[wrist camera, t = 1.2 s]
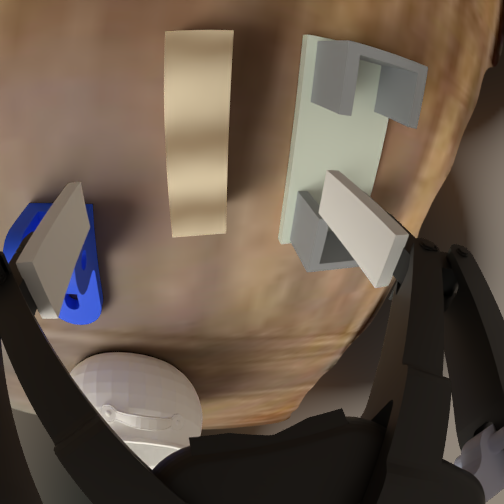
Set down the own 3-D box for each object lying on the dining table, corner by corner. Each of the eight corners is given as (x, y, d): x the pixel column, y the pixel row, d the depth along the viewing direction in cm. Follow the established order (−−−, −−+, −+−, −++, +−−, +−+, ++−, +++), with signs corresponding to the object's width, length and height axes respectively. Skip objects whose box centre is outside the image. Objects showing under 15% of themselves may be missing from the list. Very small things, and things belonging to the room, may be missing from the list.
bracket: (29, 202, 26) (-4, 249, 19) (93, 203, 29) (70, 253, 22) (56, 311, 36) (43, 361, 29) (106, 315, 39) (100, 367, 32)
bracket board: (303, 35, 23) (337, 31, 17) (392, 57, 25) (435, 65, 19) (278, 238, 37) (297, 276, 31) (353, 233, 39) (380, 267, 34)
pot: (173, 415, 63) (181, 475, 50) (66, 396, 51) (62, 461, 38) (222, 352, 49) (240, 439, 37) (67, 319, 38) (50, 417, 25)
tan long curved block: (168, 37, 21) (165, 31, 16) (223, 36, 22) (233, 30, 17) (172, 206, 32) (172, 237, 27) (218, 203, 33) (226, 233, 28)
